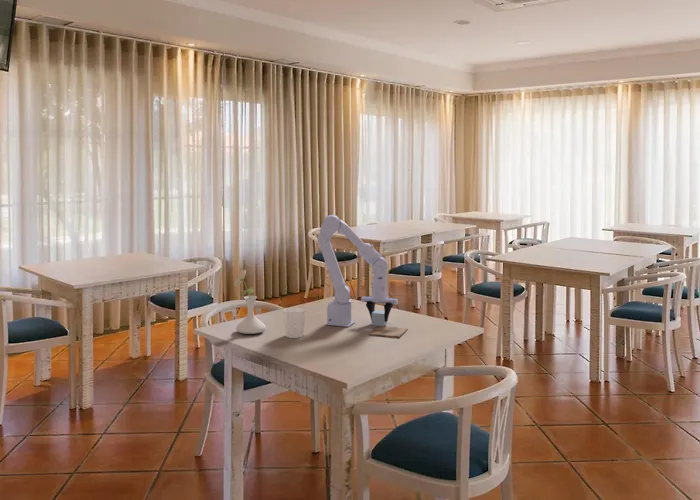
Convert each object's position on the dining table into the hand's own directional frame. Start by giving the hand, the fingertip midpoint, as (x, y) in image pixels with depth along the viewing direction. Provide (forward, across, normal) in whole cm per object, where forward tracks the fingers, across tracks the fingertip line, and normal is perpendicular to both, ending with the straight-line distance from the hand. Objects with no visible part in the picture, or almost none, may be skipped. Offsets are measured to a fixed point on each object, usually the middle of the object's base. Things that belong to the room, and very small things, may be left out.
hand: (379, 320), depth 254 cm
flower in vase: (+2, -43, -29) cm, 52 cm away
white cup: (+2, -25, -27) cm, 37 cm away
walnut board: (+1, +7, -11) cm, 13 cm away
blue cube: (+1, 0, 0) cm, 1 cm away
